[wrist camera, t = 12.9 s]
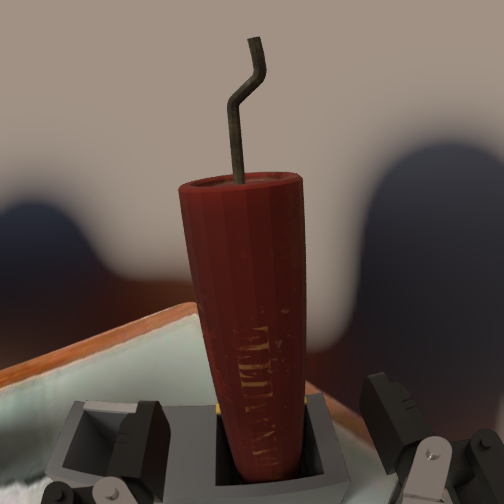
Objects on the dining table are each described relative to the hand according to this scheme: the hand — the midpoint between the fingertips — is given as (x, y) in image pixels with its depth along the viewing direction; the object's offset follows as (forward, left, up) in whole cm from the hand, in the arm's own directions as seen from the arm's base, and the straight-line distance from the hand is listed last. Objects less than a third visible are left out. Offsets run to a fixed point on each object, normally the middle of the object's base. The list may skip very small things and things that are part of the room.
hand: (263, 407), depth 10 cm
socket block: (-6, +4, -17) cm, 18 cm away
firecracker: (0, +4, -17) cm, 17 cm away
